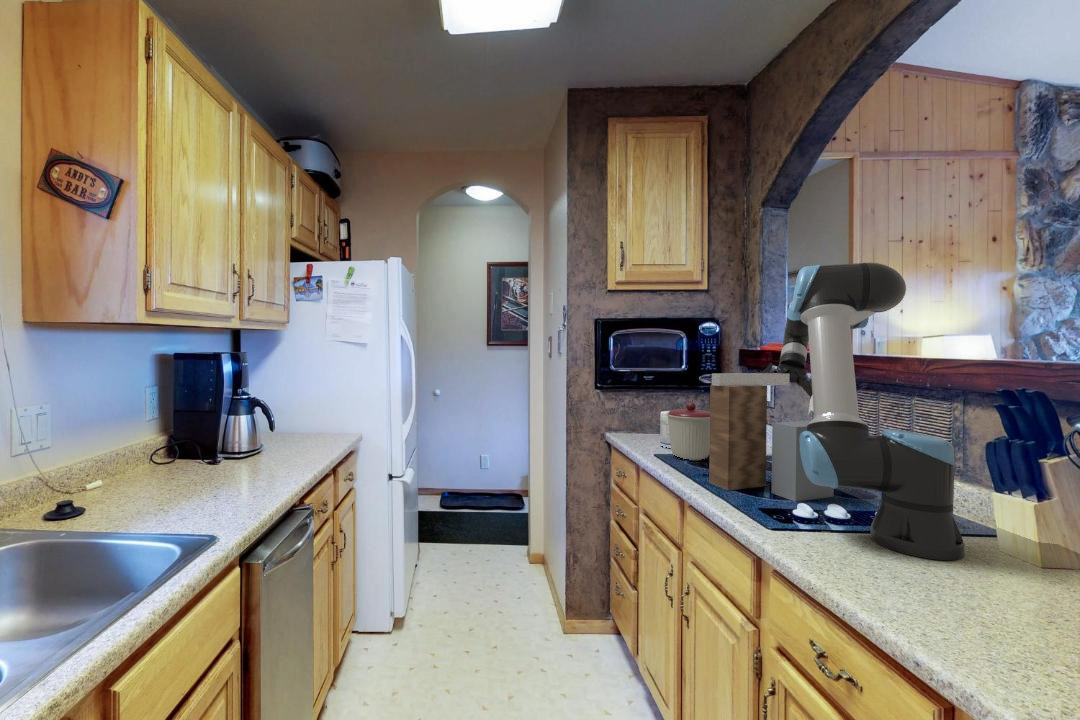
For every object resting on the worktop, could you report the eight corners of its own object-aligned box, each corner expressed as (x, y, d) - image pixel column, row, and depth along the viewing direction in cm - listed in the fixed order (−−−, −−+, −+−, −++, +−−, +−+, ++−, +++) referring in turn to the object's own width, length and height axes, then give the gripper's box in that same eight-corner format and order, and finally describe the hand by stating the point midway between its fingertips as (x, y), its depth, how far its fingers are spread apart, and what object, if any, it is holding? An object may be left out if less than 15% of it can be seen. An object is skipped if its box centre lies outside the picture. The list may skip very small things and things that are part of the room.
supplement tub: (668, 443, 204) (669, 410, 204) (688, 447, 197) (688, 412, 197) (655, 446, 198) (655, 411, 198) (674, 450, 191) (674, 414, 190)
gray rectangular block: (808, 488, 137) (809, 420, 137) (833, 496, 130) (834, 424, 129) (771, 493, 132) (772, 422, 132) (795, 501, 125) (796, 427, 125)
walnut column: (745, 479, 147) (746, 384, 146) (765, 486, 139) (767, 385, 139) (709, 483, 142) (710, 384, 142) (727, 490, 135) (729, 386, 134)
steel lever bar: (780, 384, 147) (780, 373, 147) (789, 385, 143) (789, 373, 143) (711, 385, 140) (711, 373, 140) (719, 386, 137) (719, 374, 137)
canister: (686, 465, 165) (687, 405, 165) (656, 454, 182) (656, 400, 182) (726, 461, 172) (727, 404, 172) (693, 451, 189) (693, 399, 188)
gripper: (832, 376, 151) (828, 426, 138) (750, 359, 160) (739, 404, 148) (840, 360, 145) (836, 410, 133) (754, 343, 155) (743, 388, 142)
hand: (785, 407), depth 140 cm, fingers open, 13 cm apart
